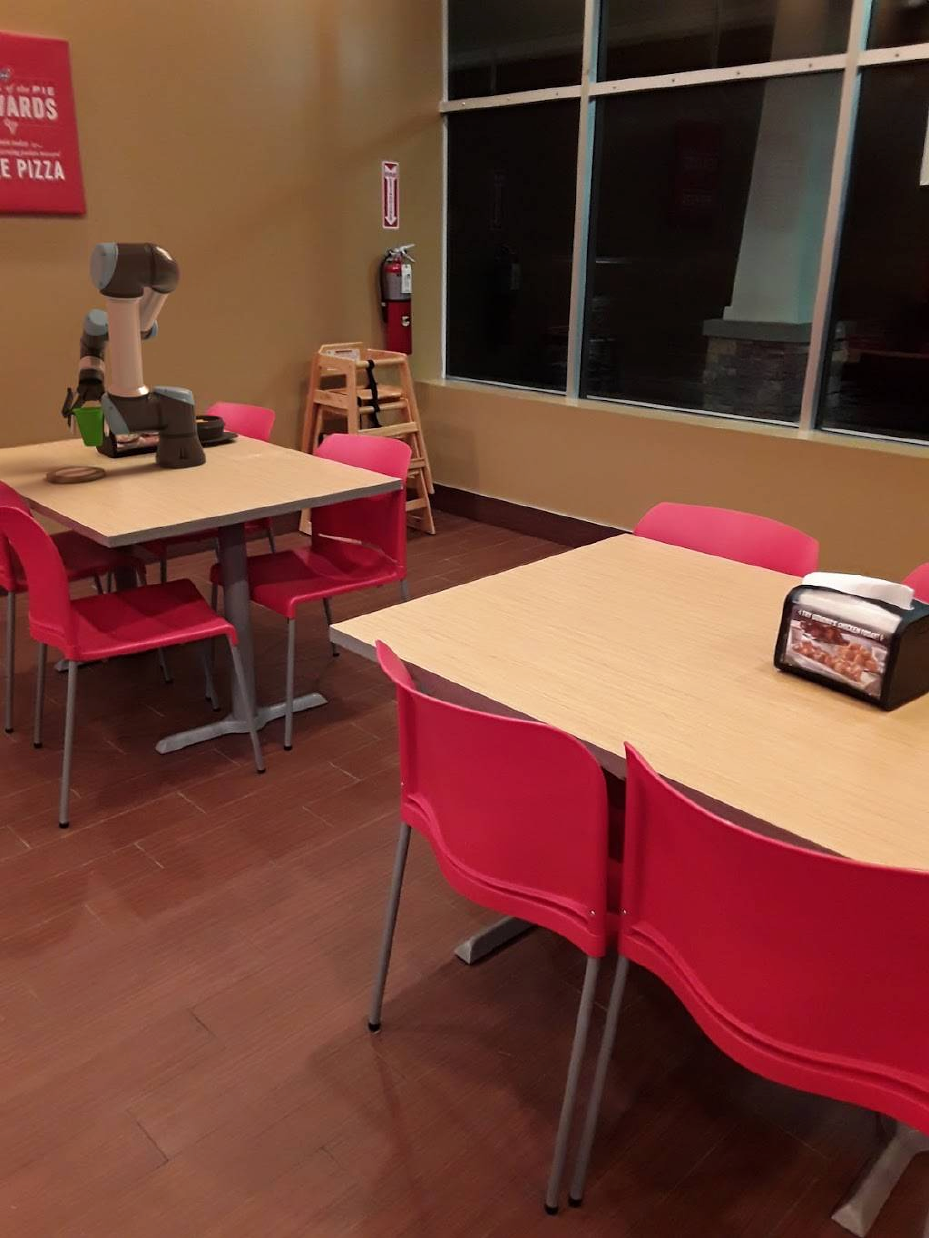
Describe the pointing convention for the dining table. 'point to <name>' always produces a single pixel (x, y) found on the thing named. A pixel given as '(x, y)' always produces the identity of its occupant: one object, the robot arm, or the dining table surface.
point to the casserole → (212, 430)
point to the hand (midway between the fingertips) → (89, 434)
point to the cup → (90, 425)
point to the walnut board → (75, 475)
